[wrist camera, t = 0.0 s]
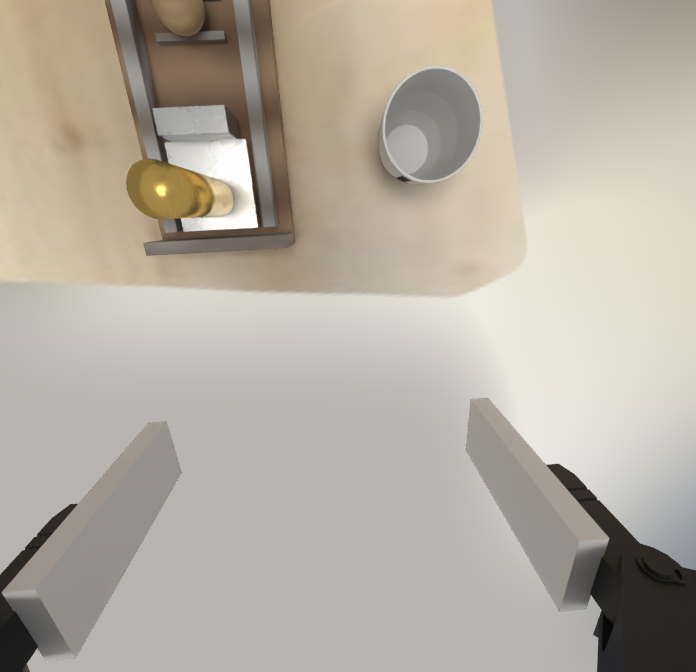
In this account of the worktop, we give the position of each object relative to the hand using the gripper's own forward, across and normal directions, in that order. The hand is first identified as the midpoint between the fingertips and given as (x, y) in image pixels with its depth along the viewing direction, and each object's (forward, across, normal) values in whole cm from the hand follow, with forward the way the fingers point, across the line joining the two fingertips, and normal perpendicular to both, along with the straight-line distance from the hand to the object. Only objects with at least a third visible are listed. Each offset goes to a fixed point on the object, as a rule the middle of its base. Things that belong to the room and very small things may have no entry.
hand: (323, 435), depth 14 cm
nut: (+26, -10, +26) cm, 38 cm away
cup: (+28, +10, +15) cm, 33 cm away
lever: (+26, -10, +13) cm, 31 cm away
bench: (+28, -10, +19) cm, 36 cm away
